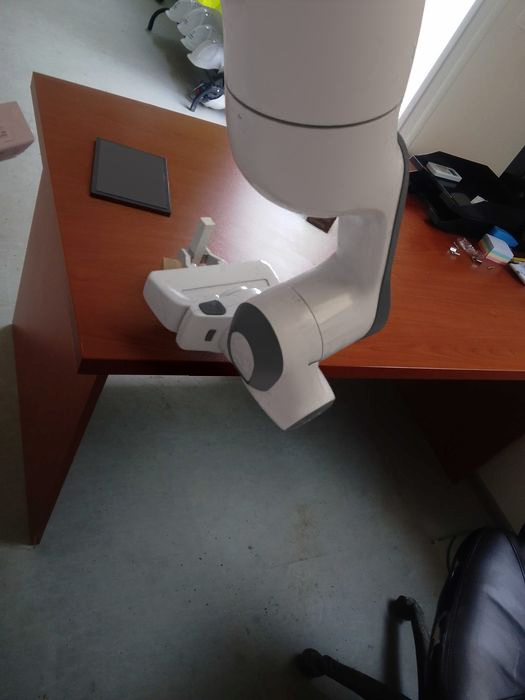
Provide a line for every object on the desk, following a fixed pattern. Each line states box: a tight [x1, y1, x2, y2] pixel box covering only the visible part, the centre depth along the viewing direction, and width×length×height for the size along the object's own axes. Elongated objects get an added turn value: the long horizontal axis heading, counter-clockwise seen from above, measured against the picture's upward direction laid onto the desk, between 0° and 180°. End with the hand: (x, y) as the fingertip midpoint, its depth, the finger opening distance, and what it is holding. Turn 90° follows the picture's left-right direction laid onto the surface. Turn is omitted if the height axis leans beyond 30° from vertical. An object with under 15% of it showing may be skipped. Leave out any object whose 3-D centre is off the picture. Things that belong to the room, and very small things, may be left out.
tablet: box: [89, 136, 172, 218], centre depth 87 cm, size 20×14×1 cm
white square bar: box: [188, 216, 216, 267], centre depth 66 cm, size 2×2×15 cm
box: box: [306, 216, 338, 234], centre depth 106 cm, size 6×6×7 cm
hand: (191, 251), depth 65 cm, fingers closed on white square bar, 2 cm apart
